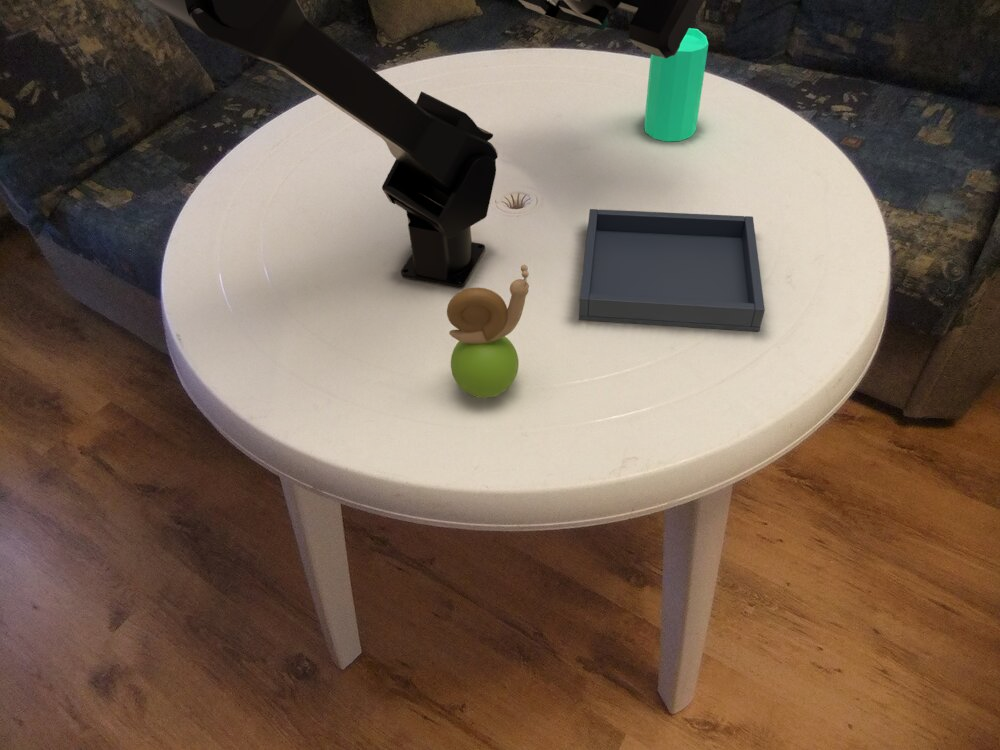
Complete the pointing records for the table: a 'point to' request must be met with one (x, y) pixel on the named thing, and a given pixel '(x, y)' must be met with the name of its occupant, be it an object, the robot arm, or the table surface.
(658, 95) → the candle
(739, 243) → the tray
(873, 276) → the table surface
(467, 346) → the snail figurine
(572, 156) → the table surface
